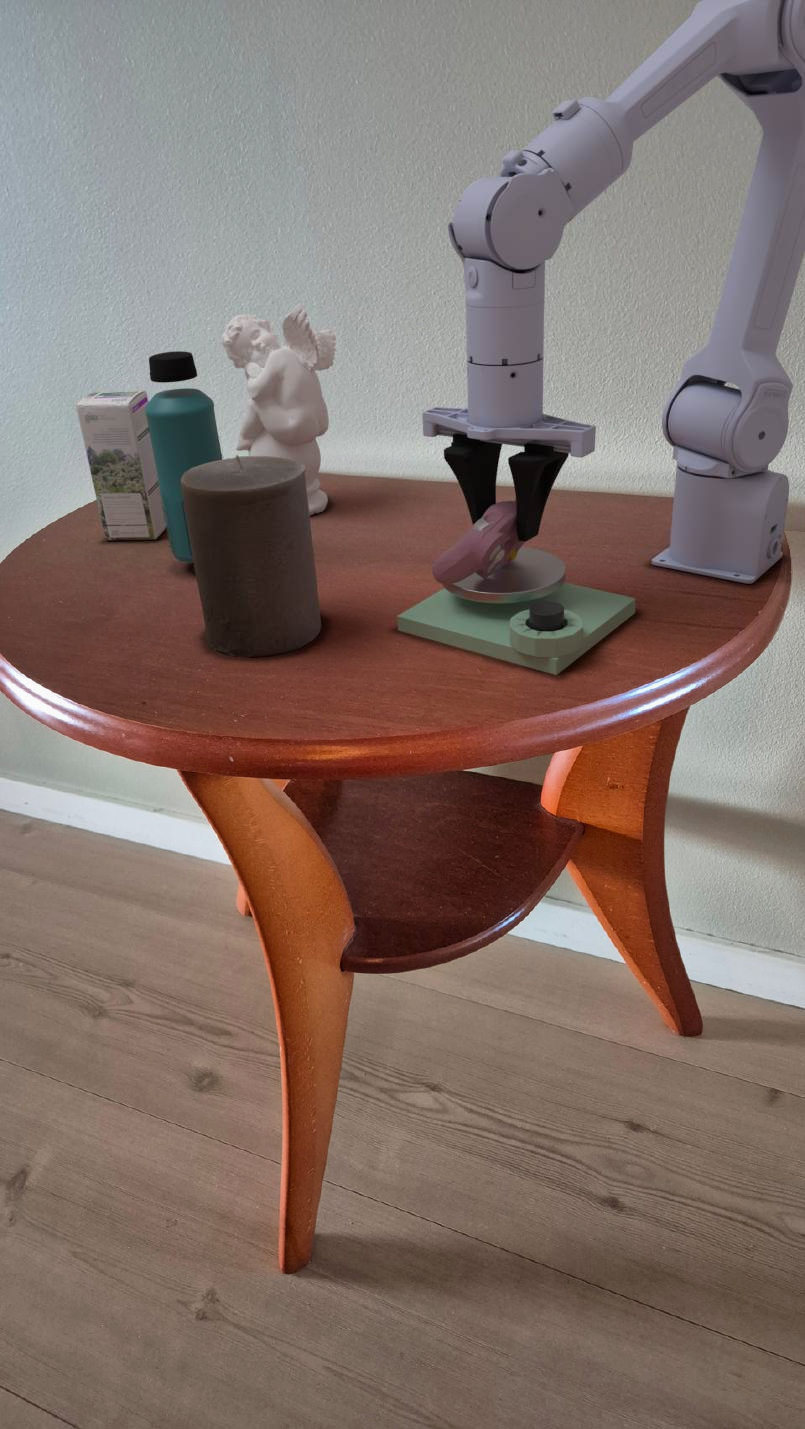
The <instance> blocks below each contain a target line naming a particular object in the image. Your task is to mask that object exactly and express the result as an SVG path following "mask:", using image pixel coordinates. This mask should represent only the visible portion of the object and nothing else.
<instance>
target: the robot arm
mask: <svg viewBox="0 0 805 1429" xmlns="http://www.w3.org/2000/svg"><path fill="white" fill-rule="evenodd" d="M716 77H718V78H719V79H720V80H721V82H722V83H724V84H725V85H726V87H728V89H729V90H730V91H731V92H733V93H734V94H735V95H736V96H737V98H739V99H740V101H742V102H743V103H744V105H745V106H746V107H747V108H749V110H751V111H752V112H753V114H754V116H755V118H756V120H757V121H758V124H759V126H760V127H761V129H762V130H761V131H762V137H761V141H760V144H759V149H758V152H757V156H756V160H755V163H754V164H755V165H754V169H753V173H752V176H751V179H750V183H749V186H748V191H747V194H746V198H745V202H744V206H743V210H742V213H741V216H740V217H741V218H740V221H739V225H738V229H737V233H736V237H735V241H734V245H733V248H732V252H731V257H730V260H729V263H728V268H727V272H726V275H725V280H724V283H723V287H722V290H721V295H720V298H719V301H718V306H717V310H716V314H715V318H714V320H713V325H712V329H711V333H710V336H709V341H708V342H707V344H706V345H704V346H703V347H702V348H701V349H700V350H699V351H697V352H696V353H695V354H693V355H692V356H690V358H688V359H687V360H686V361H685V362H684V364H683V366H682V370H681V375H680V377H679V380H678V382H677V384H676V386H675V388H674V389H673V391H672V392H671V394H670V395H669V397H668V398H667V400H666V403H665V405H664V408H663V412H662V416H661V429H662V433H663V436H664V438H665V440H666V442H667V443H668V444H669V445H670V446H671V447H672V448H673V451H672V460H675V461H676V468H675V479H674V490H673V491H674V492H673V502H672V515H671V526H670V539H669V546H668V547H667V548H665V549H664V550H663V551H660V553H659V554H657V555H656V556H654V557H653V558H652V559H651V564H652V565H653V566H656V567H662V568H666V569H671V570H675V571H682V572H687V573H691V574H696V575H700V576H705V577H711V578H715V579H720V580H726V581H730V582H731V581H732V582H737V583H741V584H745V585H746V584H747V585H751V584H753V583H755V582H756V581H757V580H758V579H759V578H760V577H761V576H763V575H764V574H765V573H766V572H767V571H768V570H769V569H771V567H773V566H774V565H775V564H776V563H777V562H778V561H779V560H780V559H781V558H782V557H783V554H784V552H783V551H782V544H783V539H784V532H785V525H786V517H787V510H788V503H789V497H790V481H789V478H788V475H786V474H784V473H781V472H775V471H773V470H770V469H769V465H770V464H771V463H772V462H773V461H774V460H775V459H776V457H777V456H778V455H779V453H780V452H781V450H782V449H783V447H784V445H785V442H786V439H787V437H788V431H789V424H790V422H789V403H790V398H791V396H792V395H791V394H792V392H793V388H794V384H793V381H792V379H791V378H790V376H789V374H788V373H787V371H786V370H785V368H784V367H783V365H782V363H781V361H780V360H779V359H778V357H777V354H776V353H777V349H778V346H779V342H780V339H781V336H782V332H783V329H784V325H785V321H786V319H787V315H788V311H789V309H790V305H791V301H792V298H793V294H794V291H795V287H796V284H797V281H798V276H799V274H800V270H801V266H802V263H803V259H804V257H805V0H701V1H699V2H698V3H696V4H695V6H694V8H693V11H692V12H691V15H690V16H689V17H688V18H687V19H686V20H685V21H684V22H683V23H682V24H681V25H680V26H679V27H677V29H676V30H675V31H674V32H673V33H672V34H671V35H670V36H669V37H668V38H667V39H666V40H665V41H664V42H663V43H661V45H660V46H659V47H658V48H656V49H655V50H654V51H653V53H651V55H649V56H648V57H647V59H646V60H644V62H642V63H641V64H640V65H639V66H638V67H637V69H635V70H634V71H633V72H632V73H631V74H630V75H629V76H628V77H627V78H626V79H625V80H624V81H623V82H622V83H621V84H620V85H619V86H618V87H617V88H616V89H615V90H614V91H613V92H612V93H611V94H610V95H609V96H608V97H606V99H605V100H604V99H601V98H597V97H594V96H593V97H592V96H585V97H582V98H580V99H578V100H577V99H568V100H563V101H562V102H561V103H560V104H559V105H557V107H555V108H554V109H553V110H552V112H551V113H552V116H553V118H554V121H553V122H552V123H551V124H550V125H549V126H548V127H547V128H545V129H544V130H543V131H541V133H540V134H539V135H537V137H535V138H534V139H533V140H532V141H531V142H530V143H528V144H526V146H525V147H524V148H522V150H520V149H516V150H515V149H514V150H513V149H512V150H511V151H509V152H508V153H507V154H506V155H505V156H504V157H503V158H502V164H503V167H502V168H501V170H500V174H499V176H485V177H481V178H479V179H477V180H474V181H473V182H472V183H470V184H469V185H468V186H467V187H466V188H465V189H464V190H463V192H462V193H461V195H460V197H459V198H458V202H459V203H458V205H457V206H455V209H454V214H453V220H452V221H451V222H448V223H447V233H448V237H449V240H450V244H451V246H452V248H453V250H454V251H455V253H456V254H457V255H458V257H459V258H460V260H461V263H462V265H463V273H464V274H463V281H464V285H465V286H464V288H465V289H464V290H465V292H464V293H465V294H464V295H465V297H464V298H465V299H464V300H465V335H466V341H465V342H466V343H465V344H466V346H465V347H466V380H467V382H466V385H467V386H466V387H467V388H466V389H467V408H466V407H462V408H458V407H457V408H456V407H440V406H435V407H433V408H430V409H427V410H424V411H422V413H421V415H422V417H421V418H422V433H423V434H422V435H423V437H428V438H435V437H437V436H441V437H449V438H452V441H451V443H450V444H451V445H450V446H447V447H446V448H444V449H443V459H444V460H445V462H446V463H447V465H448V466H449V468H450V469H451V471H452V473H453V475H454V476H455V478H456V480H457V482H458V484H459V487H460V489H461V491H462V493H463V497H464V500H465V502H466V505H467V509H468V512H469V515H470V519H471V523H472V525H474V524H475V523H476V522H477V521H478V520H479V519H481V518H482V517H483V515H484V513H485V512H486V511H487V509H488V508H489V507H490V506H492V505H494V504H497V478H498V470H499V462H500V456H501V452H502V447H503V445H507V446H515V447H521V448H523V451H519V452H517V453H516V454H513V455H511V456H508V459H507V462H508V467H509V469H510V473H511V477H512V481H513V488H514V494H515V499H516V527H517V536H518V540H519V541H524V542H525V543H526V542H528V541H530V540H532V539H533V538H535V537H537V536H539V533H540V527H541V523H542V518H543V514H544V511H545V508H546V504H547V502H548V499H549V496H550V493H551V490H552V488H553V487H554V484H555V481H556V479H557V477H558V476H559V474H560V472H561V470H562V468H563V467H564V464H565V463H566V461H567V459H568V458H569V455H570V456H571V457H574V458H581V459H582V458H584V457H586V456H589V455H590V454H592V453H594V452H595V451H596V434H597V433H596V432H597V430H596V429H597V426H596V425H595V424H587V423H586V424H585V423H581V422H577V421H573V420H569V419H565V418H561V417H557V416H553V415H549V414H546V413H544V411H543V410H544V361H545V360H544V349H545V348H544V347H545V346H544V344H545V342H544V340H545V339H544V338H545V292H546V291H545V290H546V289H545V286H546V261H549V260H550V259H552V258H553V257H554V255H555V254H556V252H557V250H558V249H559V246H560V244H561V241H562V238H563V234H564V230H565V228H566V226H567V225H568V224H569V223H570V222H571V221H572V220H573V219H575V217H577V216H578V215H579V214H580V213H581V212H582V211H583V210H585V209H586V208H587V207H588V206H589V205H590V204H591V203H592V202H593V201H594V200H596V199H597V198H598V197H599V196H600V195H602V194H603V193H604V192H605V191H606V190H607V189H608V188H610V187H611V185H613V184H614V183H615V182H617V180H618V179H619V178H621V177H622V176H623V175H624V174H625V173H626V172H627V171H628V170H629V168H630V165H631V162H632V158H633V151H634V142H635V141H637V140H638V139H640V137H642V136H643V135H644V134H646V133H647V132H648V131H649V130H651V129H652V128H653V127H655V126H656V125H657V124H658V123H659V122H661V121H662V120H663V119H664V118H666V117H667V116H668V115H669V114H671V113H672V112H673V111H674V110H676V109H678V108H679V106H681V105H682V104H683V103H685V102H687V100H688V99H689V98H691V97H692V96H693V95H695V94H696V93H698V91H700V90H701V89H702V88H703V87H705V86H706V85H707V84H709V83H710V82H711V81H712V80H714V79H715V78H716ZM727 383H730V384H732V385H735V386H737V387H738V388H736V387H732V386H728V385H726V384H727Z"/></svg>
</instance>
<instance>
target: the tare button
mask: <svg viewBox="0 0 805 1429" xmlns="http://www.w3.org/2000/svg"><path fill="white" fill-rule="evenodd" d="M529 627H530V629H532V630H536V631H542V632H553V631H557V630H561V629H563V627H564V606H563V605H561V604H559V603H557V602H552V601H542V602H537V603H534V604H532V605H531V606H530V608H529Z"/></svg>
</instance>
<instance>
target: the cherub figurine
mask: <svg viewBox="0 0 805 1429" xmlns="http://www.w3.org/2000/svg"><path fill="white" fill-rule="evenodd" d="M302 303H303V302H302V301H300V302H298V304H296V305H295V306H294V307H293V308H292V309H291V311H290V312H288V313H287V314H285V316H284V317H283V320H282V322H281V329H282V335H283V336H282V337H284V338H283V339H282V340H279V337H278V336H277V335H276V334H275V332H274V330H273V328H272V327H271V326H270V323H269V321H268V320H267V319H262V318H260V317H259V316H258V314H257V313H256V314H252V315H251V314H249V313H247V314H237V315H236V316H234V317H233V318H231V320H229V322H228V323H227V324H225V326H224V329H225V330H224V332H223V333H222V334H221V336H220V337H221V340H220V342H221V344H222V346H223V348H224V350H225V353H226V355H227V358H228V359H229V360H231V361H232V364H233V367H234V368H235V369H244V375H245V378H246V380H247V386H246V389H247V392H248V395H249V397H250V398H249V399H248V400H249V401H248V405H247V409H246V411H245V413H244V417H243V420H242V424H241V426H240V430H239V435H238V438H237V443H236V448H235V449H236V451H238V452H240V451H241V452H242V451H247V452H248V456H270V457H282V458H288V459H291V460H296V461H297V462H298V463H300V464H303V465H305V467H306V468H305V469H306V471H305V481H306V489H307V499H308V506H309V515H310V516H312V515H314V514H319V513H320V512H321V513H322V512H324V510H326V507H327V505H328V502H329V498H328V494H327V493H326V492H325V491H323V490H321V489H320V487H321V482H320V480H319V478H317V476H318V475H319V471H320V468H321V462H322V458H321V450H320V446H319V443H318V442H317V437H322V436H323V435H325V434H326V433H327V431H328V430H329V424H330V421H329V420H330V419H329V418H330V417H329V411H328V407H327V404H326V401H325V399H324V397H323V396H324V395H323V392H322V385H321V382H320V379H319V377H318V376H319V375H318V374H317V372H316V371H319V372H321V371H326V370H329V369H330V367H332V366H334V360H335V355H336V353H335V352H336V345H337V344H336V336H335V334H332V333H333V331H332V330H331V329H330V328H325V329H323V330H319V329H316V328H313V327H311V326H310V325H311V323H310V321H309V319H308V318H307V317H308V313H307V310H305V309H304V310H303V304H302ZM281 342H284V343H285V345H287V346H285V345H282V344H281Z"/></svg>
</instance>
